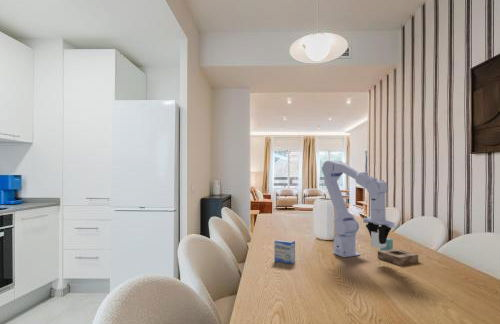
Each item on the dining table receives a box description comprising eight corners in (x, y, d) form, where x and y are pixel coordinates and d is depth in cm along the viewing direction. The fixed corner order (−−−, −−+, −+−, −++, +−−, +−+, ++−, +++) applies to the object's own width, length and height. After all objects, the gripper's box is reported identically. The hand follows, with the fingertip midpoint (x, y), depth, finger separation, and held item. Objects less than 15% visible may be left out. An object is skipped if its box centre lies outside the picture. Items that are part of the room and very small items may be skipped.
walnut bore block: (399, 265, 119) (399, 257, 119) (377, 258, 129) (377, 251, 129) (418, 261, 123) (418, 254, 124) (395, 255, 134) (395, 248, 134)
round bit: (387, 253, 136) (386, 240, 137) (377, 250, 142) (377, 238, 142) (395, 252, 139) (395, 239, 139) (385, 249, 144) (385, 237, 144)
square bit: (378, 248, 120) (378, 233, 120) (371, 245, 123) (371, 231, 124) (386, 247, 121) (385, 232, 121) (378, 244, 125) (378, 230, 125)
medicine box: (274, 261, 125) (273, 240, 125) (278, 258, 128) (278, 238, 129) (291, 264, 121) (291, 242, 121) (295, 261, 125) (295, 240, 125)
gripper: (399, 210, 118) (400, 245, 117) (371, 207, 131) (372, 238, 131) (386, 211, 115) (387, 247, 114) (359, 208, 128) (359, 239, 128)
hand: (378, 242), depth 122 cm, fingers closed on square bit, 4 cm apart
